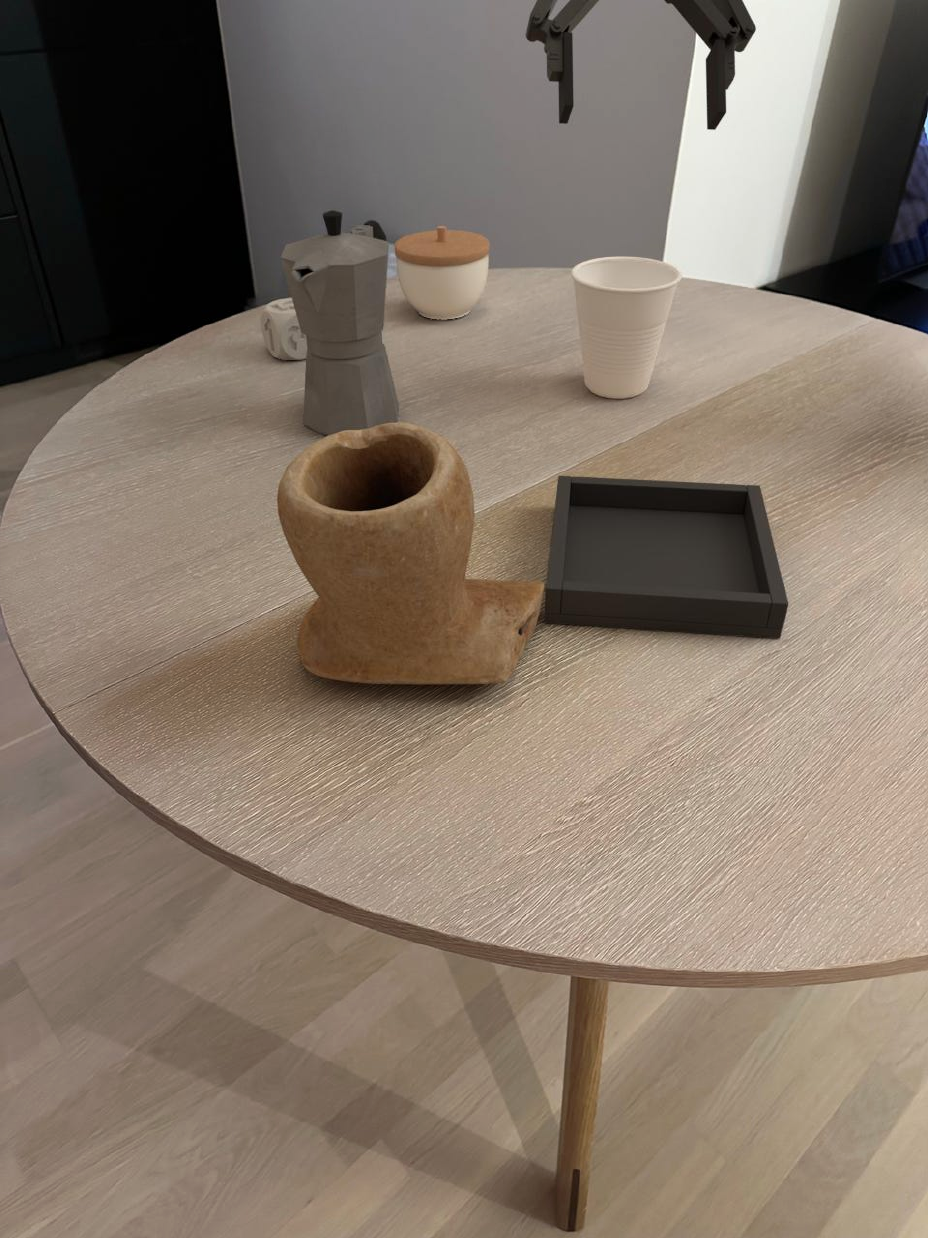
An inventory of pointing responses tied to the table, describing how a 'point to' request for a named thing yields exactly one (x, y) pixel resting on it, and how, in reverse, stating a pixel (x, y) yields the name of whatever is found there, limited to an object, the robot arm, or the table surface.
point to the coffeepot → (343, 325)
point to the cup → (622, 320)
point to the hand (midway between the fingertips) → (641, 118)
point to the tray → (664, 558)
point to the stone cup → (397, 564)
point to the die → (283, 331)
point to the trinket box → (442, 271)
